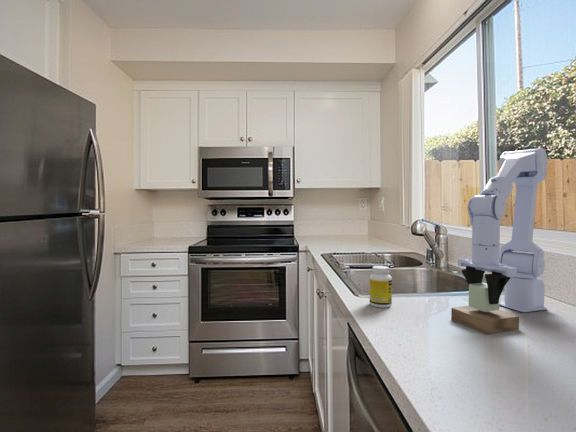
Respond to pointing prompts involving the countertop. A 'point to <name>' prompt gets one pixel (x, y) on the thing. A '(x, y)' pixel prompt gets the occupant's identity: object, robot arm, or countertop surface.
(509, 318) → the walnut base
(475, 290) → the sage cube
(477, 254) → the robot arm
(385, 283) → the pill bottle
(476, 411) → the countertop surface
